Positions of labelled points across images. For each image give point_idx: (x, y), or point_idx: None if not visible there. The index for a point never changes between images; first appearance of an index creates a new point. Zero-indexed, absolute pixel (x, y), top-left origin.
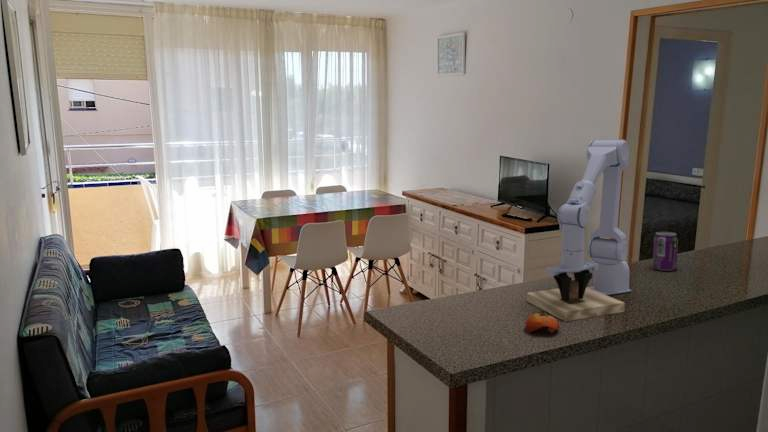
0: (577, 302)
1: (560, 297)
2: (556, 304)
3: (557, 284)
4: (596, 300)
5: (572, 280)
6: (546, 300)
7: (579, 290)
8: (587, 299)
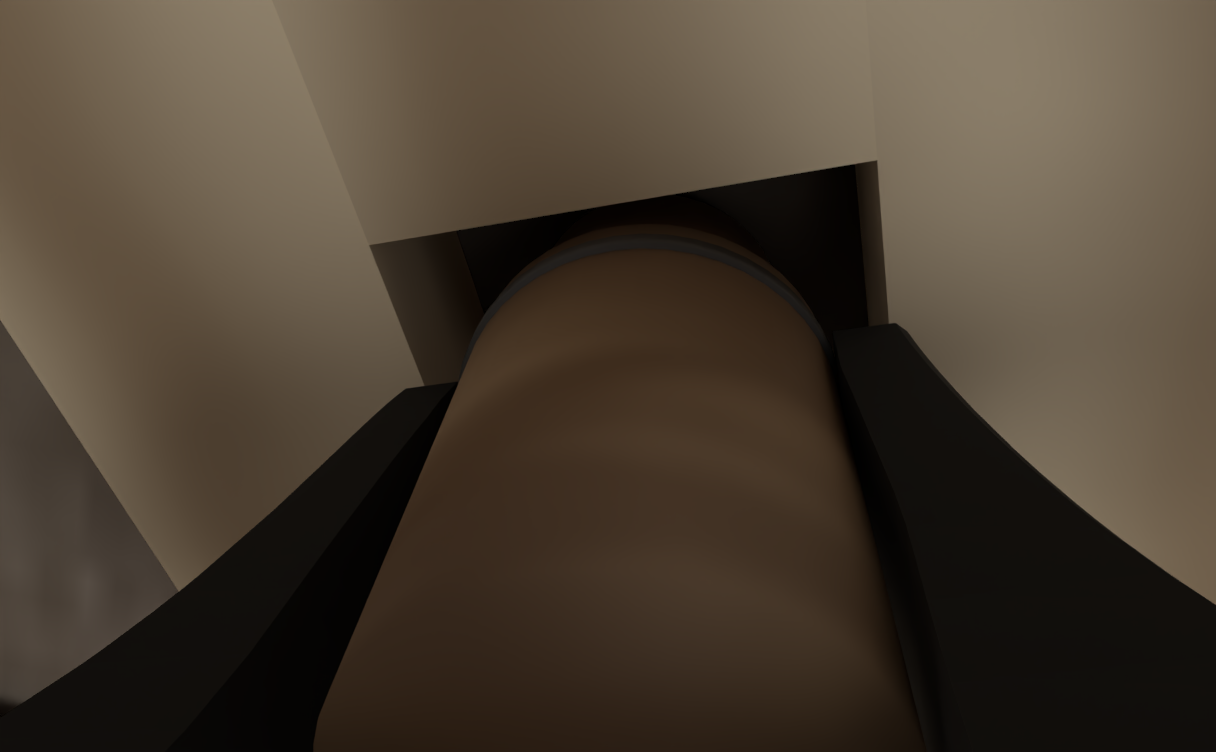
0: (869, 238)
1: (460, 126)
2: (244, 529)
3: (99, 656)
4: (1199, 532)
5: (738, 729)
6: (51, 271)
7: (886, 587)
8: (1056, 433)
